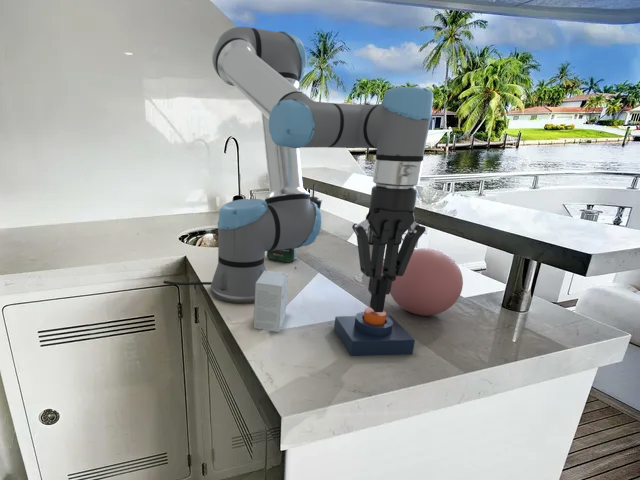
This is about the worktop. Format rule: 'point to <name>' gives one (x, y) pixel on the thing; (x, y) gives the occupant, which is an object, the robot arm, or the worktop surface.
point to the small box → (270, 300)
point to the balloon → (428, 283)
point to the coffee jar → (283, 254)
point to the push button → (373, 336)
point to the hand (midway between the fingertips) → (376, 309)
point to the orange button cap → (374, 317)
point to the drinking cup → (315, 198)
